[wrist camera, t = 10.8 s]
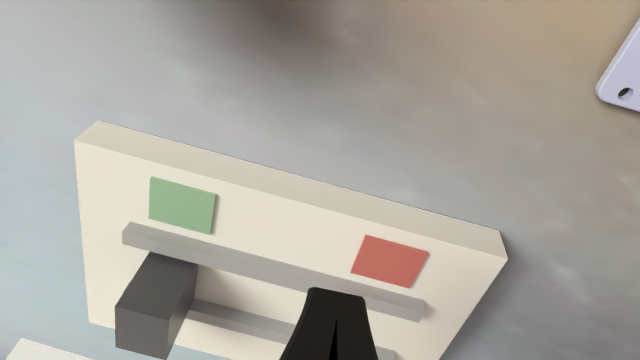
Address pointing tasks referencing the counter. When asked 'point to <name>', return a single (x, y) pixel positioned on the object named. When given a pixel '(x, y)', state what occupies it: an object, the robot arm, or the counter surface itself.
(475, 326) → the counter surface
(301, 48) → the counter surface
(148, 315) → the handle
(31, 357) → the milk
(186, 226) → the slider switch base
